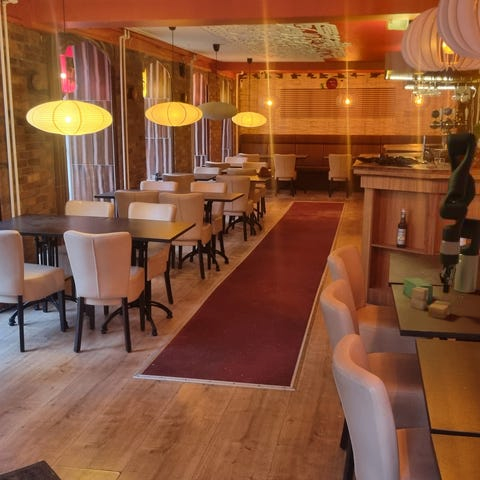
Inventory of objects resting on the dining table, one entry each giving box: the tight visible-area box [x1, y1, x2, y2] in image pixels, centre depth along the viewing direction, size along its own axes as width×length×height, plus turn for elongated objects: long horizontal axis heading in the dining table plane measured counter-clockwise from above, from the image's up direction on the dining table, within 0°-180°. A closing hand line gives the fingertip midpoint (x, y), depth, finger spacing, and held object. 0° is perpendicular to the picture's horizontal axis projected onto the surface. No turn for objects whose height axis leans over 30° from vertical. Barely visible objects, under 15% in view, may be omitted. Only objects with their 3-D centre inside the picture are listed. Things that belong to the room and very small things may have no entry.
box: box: [402, 277, 434, 303], centre depth 267 cm, size 7×14×8 cm, turn 11°
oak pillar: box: [427, 299, 452, 320], centre depth 244 cm, size 4×6×9 cm
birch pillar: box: [410, 287, 428, 311], centre depth 253 cm, size 5×5×8 cm
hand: (446, 292), depth 248 cm, fingers closed
